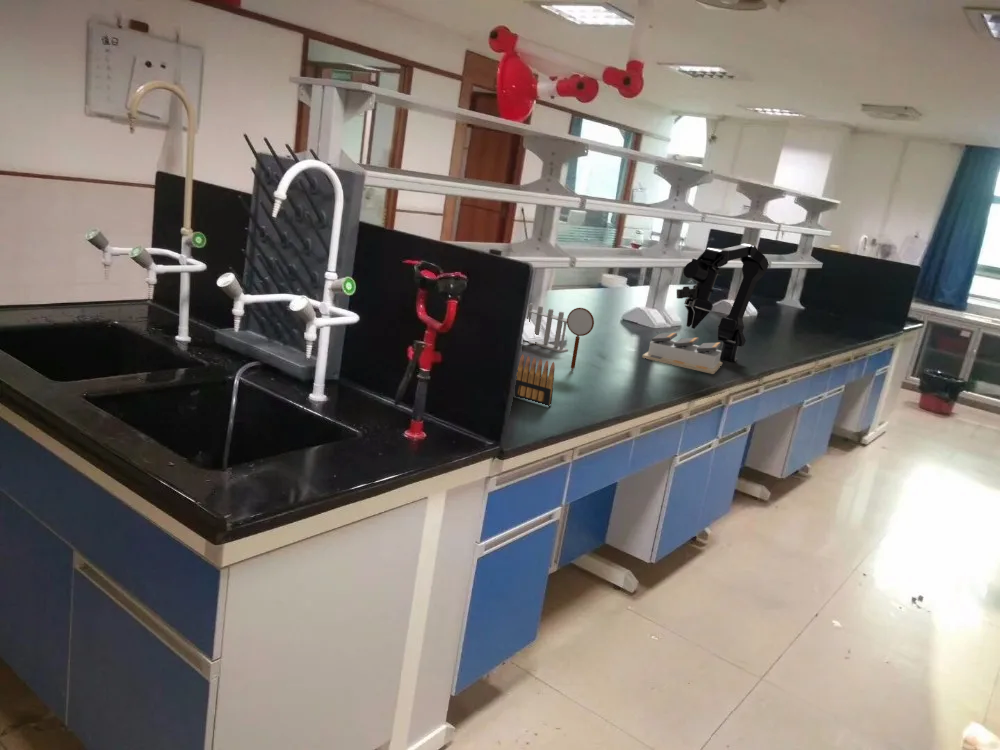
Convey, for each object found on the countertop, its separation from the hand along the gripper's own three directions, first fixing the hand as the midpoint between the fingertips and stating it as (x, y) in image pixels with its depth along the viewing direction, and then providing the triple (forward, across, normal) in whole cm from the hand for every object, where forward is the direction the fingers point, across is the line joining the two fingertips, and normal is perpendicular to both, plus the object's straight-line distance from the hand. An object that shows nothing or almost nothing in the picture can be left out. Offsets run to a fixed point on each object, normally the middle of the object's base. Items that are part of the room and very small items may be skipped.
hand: (690, 327), depth 260 cm
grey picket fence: (+21, +2, -50) cm, 54 cm away
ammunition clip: (+30, +72, -47) cm, 91 cm away
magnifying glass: (+24, +34, -37) cm, 55 cm away
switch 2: (+5, -1, +9) cm, 10 cm away
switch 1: (+6, -6, -6) cm, 11 cm away
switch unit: (+12, -4, +2) cm, 13 cm away
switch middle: (+6, -4, +1) cm, 7 cm away
